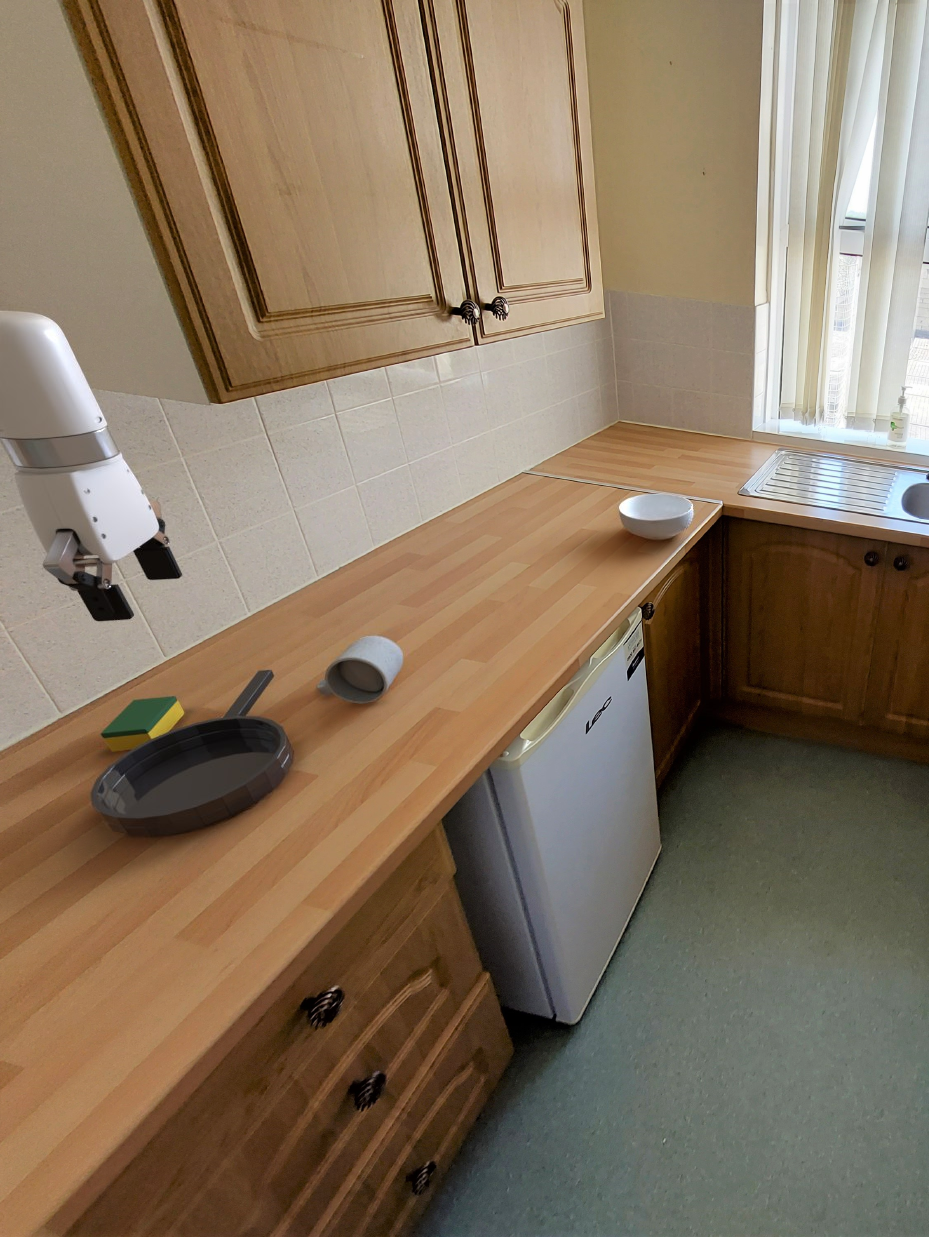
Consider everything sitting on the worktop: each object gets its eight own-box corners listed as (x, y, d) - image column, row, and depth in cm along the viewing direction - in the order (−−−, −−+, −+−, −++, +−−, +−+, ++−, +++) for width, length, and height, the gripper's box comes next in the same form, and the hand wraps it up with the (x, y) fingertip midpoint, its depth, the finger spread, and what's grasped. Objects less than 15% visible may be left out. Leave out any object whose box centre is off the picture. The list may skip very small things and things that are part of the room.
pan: (66, 853, 68) (49, 830, 66) (157, 746, 82) (145, 725, 81) (261, 825, 73) (250, 803, 71) (316, 728, 87) (307, 708, 85)
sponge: (111, 752, 81) (99, 733, 79) (143, 717, 87) (133, 699, 85) (156, 747, 82) (145, 728, 81) (185, 713, 88) (175, 695, 86)
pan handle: (224, 726, 83) (220, 718, 83) (261, 677, 92) (258, 670, 92) (239, 724, 84) (236, 717, 83) (274, 676, 93) (271, 669, 92)
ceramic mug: (412, 670, 100) (398, 627, 96) (393, 702, 93) (377, 658, 89) (335, 675, 98) (318, 631, 94) (309, 708, 91) (289, 663, 87)
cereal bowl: (638, 516, 160) (636, 489, 156) (703, 525, 158) (702, 497, 155) (608, 542, 145) (605, 513, 142) (679, 552, 144) (677, 522, 140)
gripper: (73, 426, 70) (144, 566, 79) (-59, 476, 56) (45, 641, 65) (158, 426, 73) (219, 563, 81) (52, 474, 58) (138, 634, 67)
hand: (142, 597), depth 73 cm, fingers open, 9 cm apart
